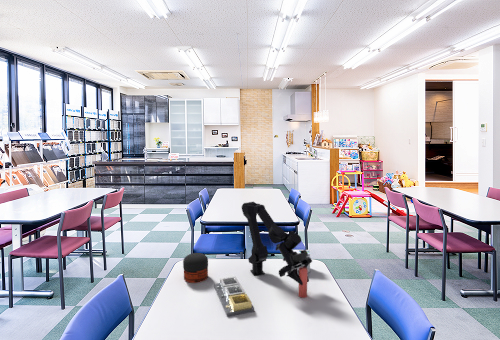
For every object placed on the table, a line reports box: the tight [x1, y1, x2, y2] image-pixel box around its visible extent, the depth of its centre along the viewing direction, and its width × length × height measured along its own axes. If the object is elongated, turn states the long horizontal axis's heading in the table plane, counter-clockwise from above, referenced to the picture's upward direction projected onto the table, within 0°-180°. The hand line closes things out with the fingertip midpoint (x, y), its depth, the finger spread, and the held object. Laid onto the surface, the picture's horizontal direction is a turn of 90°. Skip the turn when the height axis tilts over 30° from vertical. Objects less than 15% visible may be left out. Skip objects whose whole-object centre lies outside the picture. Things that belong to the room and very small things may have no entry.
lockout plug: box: [298, 267, 308, 299], centre depth 145 cm, size 4×4×13 cm
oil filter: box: [182, 252, 209, 284], centre depth 164 cm, size 13×12×13 cm
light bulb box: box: [292, 249, 311, 273], centre depth 173 cm, size 11×7×11 cm, turn 84°
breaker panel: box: [213, 276, 255, 317], centre depth 143 cm, size 27×12×4 cm, turn 18°
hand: (305, 283), depth 144 cm, fingers closed on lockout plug, 4 cm apart
